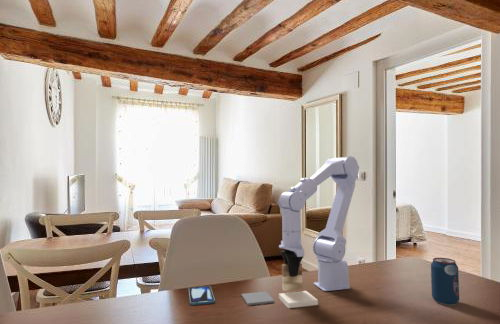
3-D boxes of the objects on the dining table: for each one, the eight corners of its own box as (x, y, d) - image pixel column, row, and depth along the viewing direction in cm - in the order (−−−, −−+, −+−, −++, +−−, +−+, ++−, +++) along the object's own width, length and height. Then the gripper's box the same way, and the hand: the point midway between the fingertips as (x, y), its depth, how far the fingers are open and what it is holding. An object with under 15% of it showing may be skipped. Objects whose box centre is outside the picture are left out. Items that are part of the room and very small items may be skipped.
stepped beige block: (300, 287, 104) (299, 262, 105) (302, 288, 103) (301, 264, 103) (282, 289, 103) (281, 264, 103) (284, 290, 101) (283, 265, 102)
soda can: (462, 307, 93) (461, 263, 93) (434, 304, 95) (433, 262, 96) (455, 298, 99) (454, 258, 100) (429, 296, 102) (428, 256, 102)
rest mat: (266, 293, 106) (266, 291, 106) (274, 302, 98) (274, 300, 98) (241, 295, 104) (241, 293, 104) (247, 305, 96) (247, 303, 96)
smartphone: (210, 285, 112) (215, 300, 98) (210, 288, 112) (215, 304, 98) (188, 287, 111) (189, 303, 96) (188, 290, 111) (189, 306, 96)
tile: (306, 290, 104) (317, 299, 96) (306, 296, 104) (317, 306, 96) (278, 293, 101) (288, 303, 94) (278, 299, 101) (288, 309, 94)
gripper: (271, 227, 110) (272, 269, 109) (287, 235, 95) (288, 283, 95) (292, 226, 111) (292, 268, 111) (310, 234, 97) (311, 281, 97)
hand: (292, 275), depth 103 cm, fingers closed on stepped beige block, 2 cm apart
